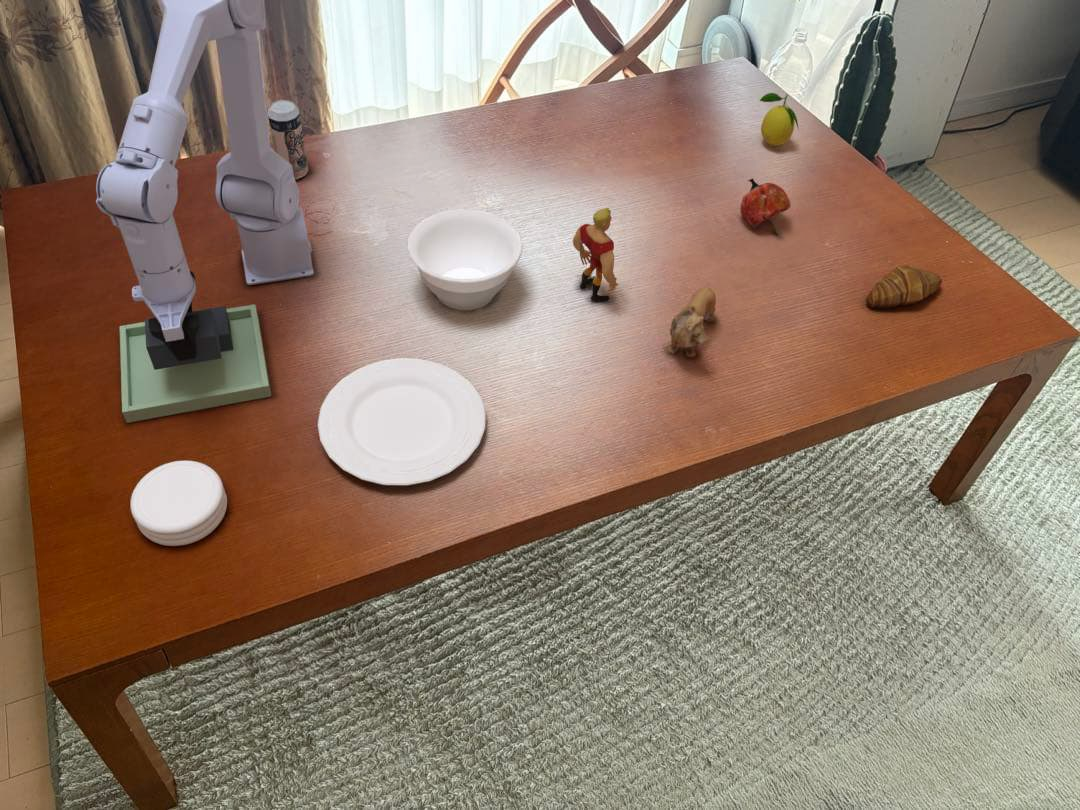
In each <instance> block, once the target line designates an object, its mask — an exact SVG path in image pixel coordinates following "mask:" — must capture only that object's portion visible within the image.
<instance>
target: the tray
mask: <svg viewBox="0 0 1080 810" xmlns="http://www.w3.org/2000/svg"><path fill="white" fill-rule="evenodd" d="M226 310H227V314H228V318H229V322H230V328H231V335H232V343H233V350H229V351H223V352H221V359H215V360H209V361H203V362H198V363H192V364H186V365H180V366H174V367H169V368H163V369H157V370H154V367H153V364H152V362H151V359H150V356H149V354H148V351H147V348H146V335H145V321H143V322H135V323H131V324H126V325H125V324H124V325H119V352H120V353H119V354H120V389H121V412H122V416H123V417H124V420H125V422H126V423H127V424H129V423H135V422H140V421H146V420H150V419H151V420H152V419H157V418H161V417H168V416H172V415H173V416H174V415H177V414H183V413H188V412H189V413H190V412H194V411H200V410H205V409H211V408H215V407H221V406H226V405H232V404H237V403H243V402H248V401H254V400H260V399H265V398H270V397H272V391H271V385H270V379H269V378H270V377H269V373H268V367H267V361H266V354H265V350H264V344H263V337H262V331H261V325H260V320H259V319H260V318H259V313H258V310H257V305H256V304H249V305H242V306H236V307H235V306H234V307H230V308H226Z"/></svg>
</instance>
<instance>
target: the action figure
mask: <svg viewBox="0 0 1080 810" xmlns="http://www.w3.org/2000/svg"><path fill="white" fill-rule="evenodd" d="M612 219H613V218H612V216H611V210H610V208H609V207H605V208H600V209H599V210H596V211H595V212H594V213H593V215H592V220H593V223H594V224H590V223H584V224H582V225H581V226H579V227H578V228H577V230H576V232H575V234H574V236H573V238H572V245H573V247H574V249H575V250H577V252H579V258H580V262H581V263H582V265H583V266H585V265H586V266H587V265H588V264H589V267H586V269H584V270H583V272H582V274H581V282H580V284H579V289H580V290H585V289H586V288H587V286H588V285H591V289H592V291H591V292H592V295H591V296H590V300H591V301H592V302H595V303H597V302H598V303H605V302H608V301H609V300H610V298H611V297H610V295H605V294H604V295H600V294H598V293H599V291H600V289H601V287H602V286H601V284H602V281H603V278H604V280H605V281H606V283H607V284H608V287H609V289H607V290H606V291H607V292H609V293H612V292H613V291H614V290H615V289H616V288H617V286H619V283H617V279H618V277H616V276H615V273H614V268H615V254H614V249H615V243H614V241H613V239H611V237H610V236H609V235H608V234H607V233H606V231H608V230H609V229H610V226H611V222H612ZM585 246H586V248H587V249H588V250H587V249H585ZM594 271H595V275H596V276H595V278H593V277H591V276H592V274H593V273H594Z"/></svg>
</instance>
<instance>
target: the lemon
mask: <svg viewBox="0 0 1080 810" xmlns="http://www.w3.org/2000/svg"><path fill="white" fill-rule="evenodd" d="M788 95H789V93H787V94H786V95H785V97H782V96H780V95H778V94H777V93H774V92H769V93H766V94H764V95H762V97H761V98H760V99H759V102H763V103H773V102H774V103H775V102H780V101H783V105H777V106H773V107H772V108H770V109H769V110H768V112H767V113H766V114H765V115H764V117H763V120H762V123H761V127H760V133H761V136H762V138H763V139H764V141H765V142H767V143H768V144H769V145H770V146H771V147H775V146H779V145H780V146H781V145H783V144H785V143H787V142H788V141H789V140H790V139H791V137H792V136H793V132H794V129H795V125H796V127H797V129H798V130H800V128H799V121H798V118H797V115H796V113H795V112H794V110H793V109H792V108H791V107H789V106H788V105H787V103H786V102H787V98H788Z"/></svg>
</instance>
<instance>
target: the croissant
mask: <svg viewBox="0 0 1080 810" xmlns="http://www.w3.org/2000/svg"><path fill="white" fill-rule="evenodd" d="M942 282H943V279H942V277H941V276H940V275H939V274H938V273H937V274H936V273H935V272H932V271H930V270H926V269H921V268H913V267H912V266H910V265H899V266H897V267H895V268H893V269H892V270H890V271H889V272H888V273H886V274H885V275H884V276H883V277H882V279H881V280H880V281H878V282H876V284H875V285H874V286H873V288H872V289H871V290H870V292H869V294H867V295H868V296H867V297H866V299H865V303H866V305H867V306H868V307H870V308H871V309H893V308H895V307H905V306H911V305H914V304H916V303H917V302H920V301H922V300H924V299H926V298H927V297H929V296H931V295H933V294H934V293H935V292H936V291H937V290H939V288H940V286H941V285H942Z"/></svg>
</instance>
